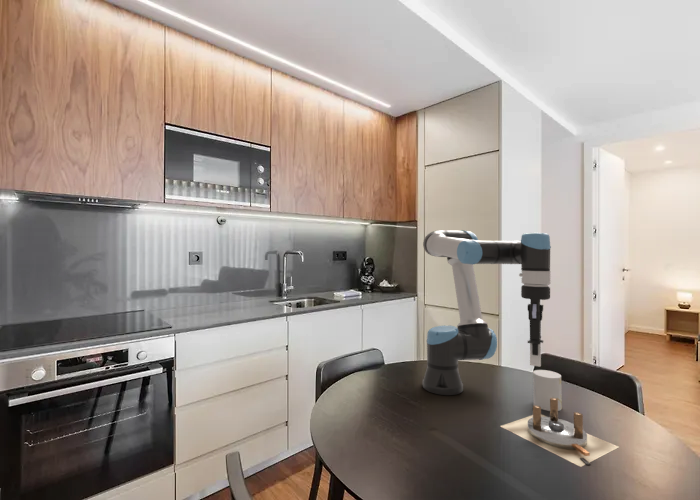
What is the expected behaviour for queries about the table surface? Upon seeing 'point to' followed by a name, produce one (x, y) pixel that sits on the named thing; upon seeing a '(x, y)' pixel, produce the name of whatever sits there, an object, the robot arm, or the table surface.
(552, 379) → the cup
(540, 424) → the capstan wheel
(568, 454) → the base board
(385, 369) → the table surface
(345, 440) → the table surface
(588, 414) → the table surface
